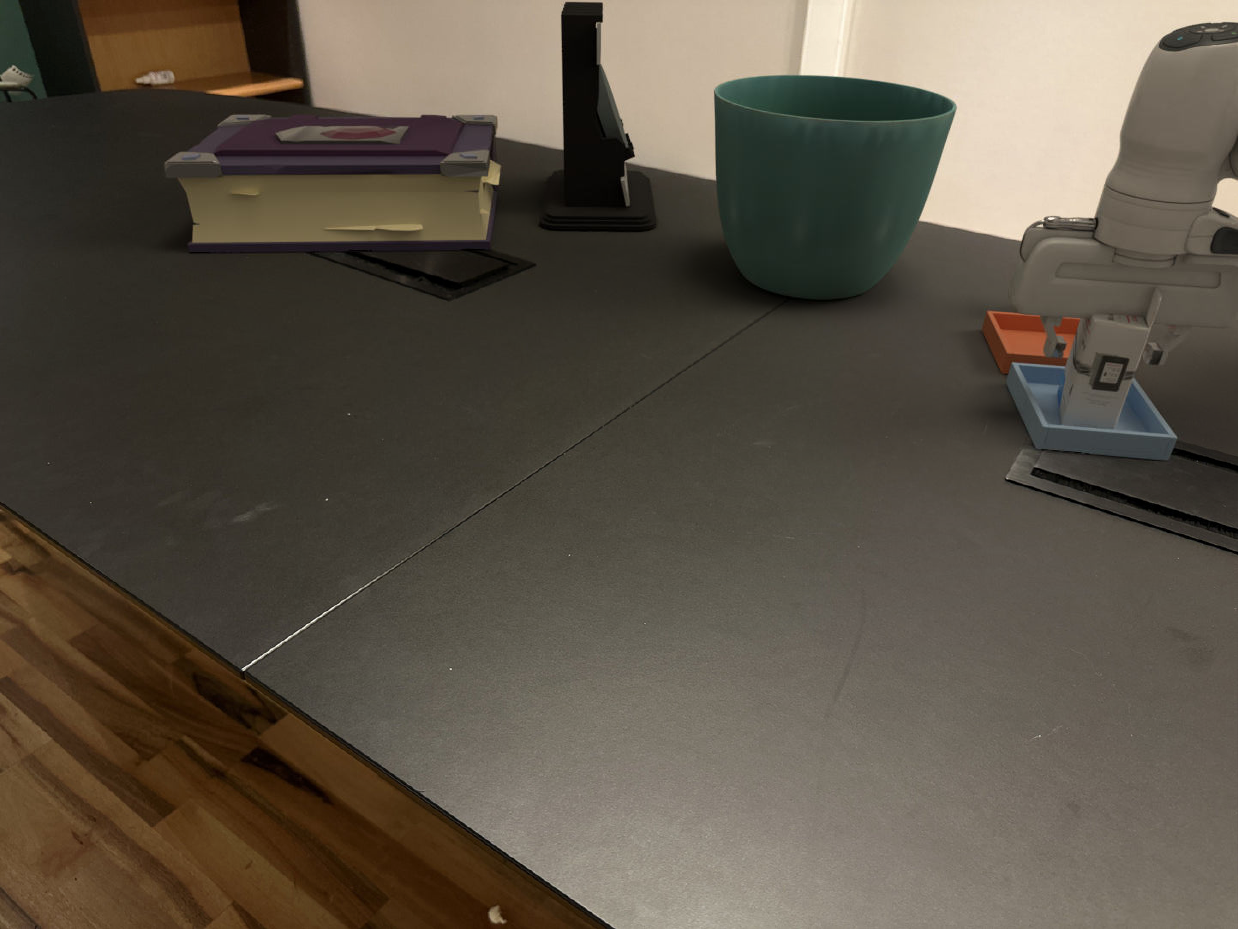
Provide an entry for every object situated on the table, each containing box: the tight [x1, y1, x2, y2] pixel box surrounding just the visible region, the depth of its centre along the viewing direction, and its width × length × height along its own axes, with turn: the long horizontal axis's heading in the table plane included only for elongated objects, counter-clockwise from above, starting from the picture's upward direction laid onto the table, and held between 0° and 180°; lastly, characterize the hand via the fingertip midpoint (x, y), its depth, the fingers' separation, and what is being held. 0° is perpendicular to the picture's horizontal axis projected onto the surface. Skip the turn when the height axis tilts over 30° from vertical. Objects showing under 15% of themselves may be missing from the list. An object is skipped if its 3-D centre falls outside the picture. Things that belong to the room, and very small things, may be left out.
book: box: [163, 114, 502, 254], centre depth 142 cm, size 33×45×14 cm
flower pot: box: [713, 74, 958, 301], centre depth 120 cm, size 30×30×24 cm
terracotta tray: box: [981, 310, 1081, 375], centre depth 105 cm, size 12×12×3 cm
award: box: [539, 1, 658, 231], centre depth 146 cm, size 30×19×30 cm, turn 1°
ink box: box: [1058, 286, 1161, 430], centre depth 89 cm, size 8×5×15 cm, turn 160°
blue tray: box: [1005, 362, 1178, 462], centre depth 92 cm, size 12×14×3 cm
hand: (1101, 359), depth 89 cm, fingers open, 8 cm apart
